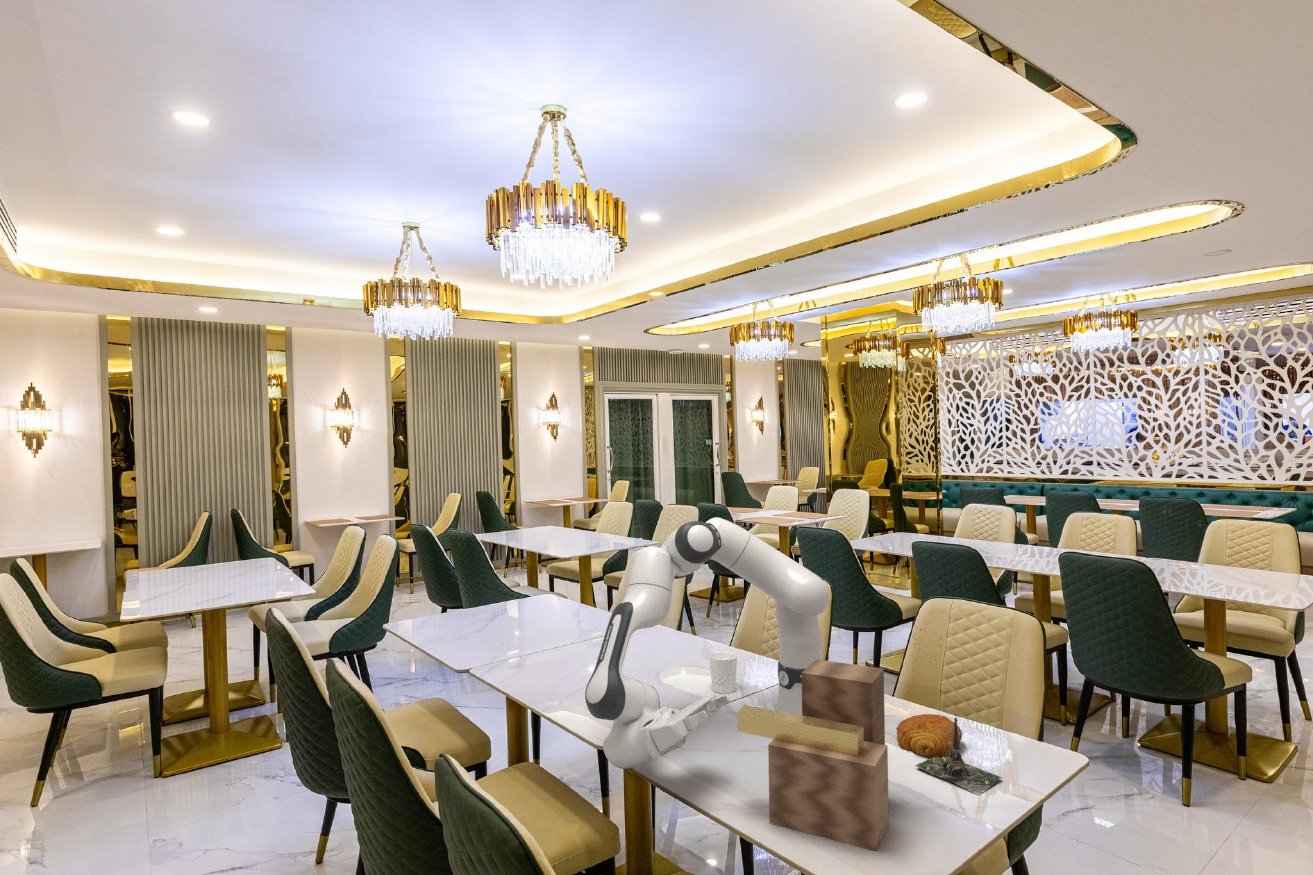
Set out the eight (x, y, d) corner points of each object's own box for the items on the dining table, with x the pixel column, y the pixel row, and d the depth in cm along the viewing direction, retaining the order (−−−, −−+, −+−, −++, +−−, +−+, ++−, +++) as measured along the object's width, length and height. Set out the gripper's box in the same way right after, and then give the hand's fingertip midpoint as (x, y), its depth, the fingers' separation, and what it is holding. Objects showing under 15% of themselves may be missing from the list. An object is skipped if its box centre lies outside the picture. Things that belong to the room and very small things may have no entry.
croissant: (969, 752, 176) (971, 718, 177) (947, 765, 164) (949, 728, 165) (910, 735, 185) (912, 703, 186) (884, 747, 174) (886, 712, 174)
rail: (737, 731, 147) (737, 711, 147) (745, 724, 151) (745, 704, 151) (857, 756, 135) (857, 734, 135) (863, 748, 138) (863, 726, 138)
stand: (769, 823, 141) (767, 686, 141) (804, 778, 159) (803, 657, 159) (876, 850, 131) (873, 704, 131) (900, 799, 149) (898, 670, 149)
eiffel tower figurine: (1004, 780, 156) (1003, 717, 156) (978, 795, 150) (977, 730, 150) (940, 755, 168) (939, 697, 168) (913, 768, 162) (913, 708, 162)
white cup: (736, 695, 211) (735, 660, 211) (708, 693, 212) (707, 658, 212) (738, 686, 218) (738, 652, 218) (712, 684, 220) (711, 651, 220)
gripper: (695, 726, 166) (744, 704, 160) (649, 762, 148) (703, 739, 142) (682, 699, 167) (730, 677, 161) (635, 731, 149) (688, 707, 143)
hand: (717, 706), depth 151 cm, fingers open, 8 cm apart
